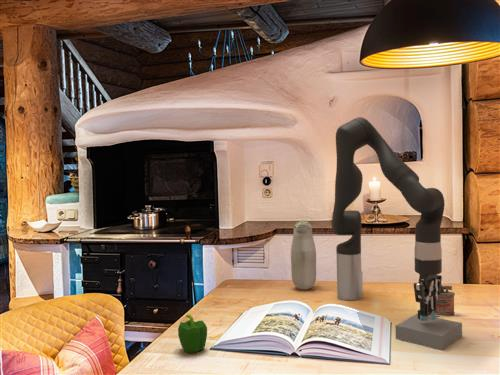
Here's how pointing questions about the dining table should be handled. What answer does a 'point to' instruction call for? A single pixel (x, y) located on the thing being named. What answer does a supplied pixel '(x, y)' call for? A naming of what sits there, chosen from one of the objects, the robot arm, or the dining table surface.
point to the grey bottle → (303, 256)
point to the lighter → (445, 302)
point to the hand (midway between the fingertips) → (428, 313)
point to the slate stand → (429, 332)
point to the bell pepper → (192, 335)
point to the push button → (429, 308)
